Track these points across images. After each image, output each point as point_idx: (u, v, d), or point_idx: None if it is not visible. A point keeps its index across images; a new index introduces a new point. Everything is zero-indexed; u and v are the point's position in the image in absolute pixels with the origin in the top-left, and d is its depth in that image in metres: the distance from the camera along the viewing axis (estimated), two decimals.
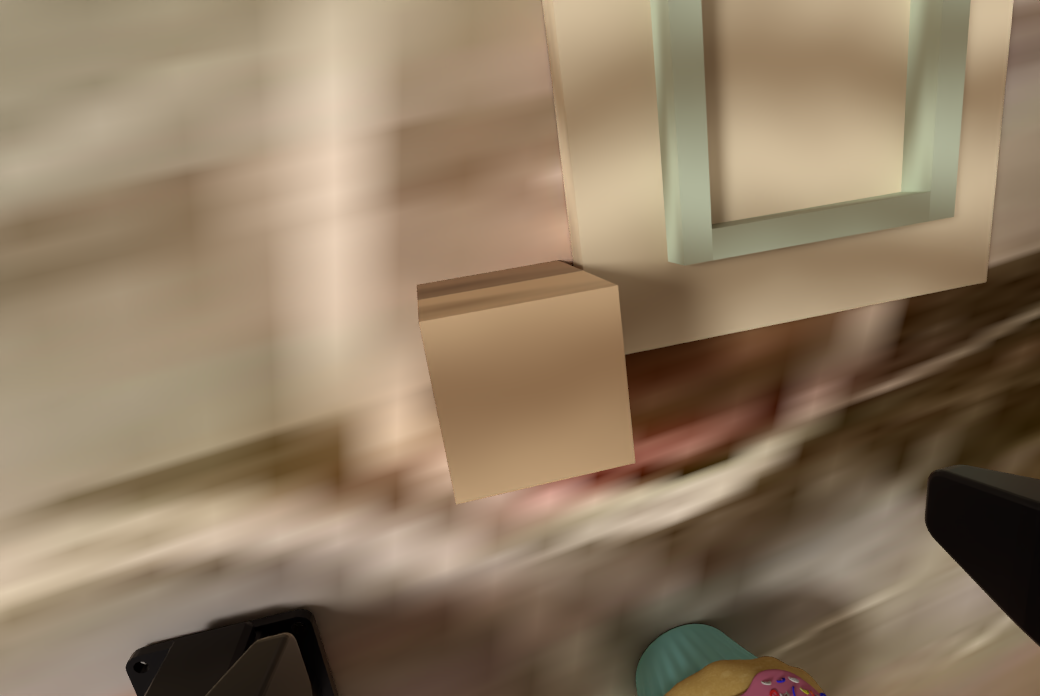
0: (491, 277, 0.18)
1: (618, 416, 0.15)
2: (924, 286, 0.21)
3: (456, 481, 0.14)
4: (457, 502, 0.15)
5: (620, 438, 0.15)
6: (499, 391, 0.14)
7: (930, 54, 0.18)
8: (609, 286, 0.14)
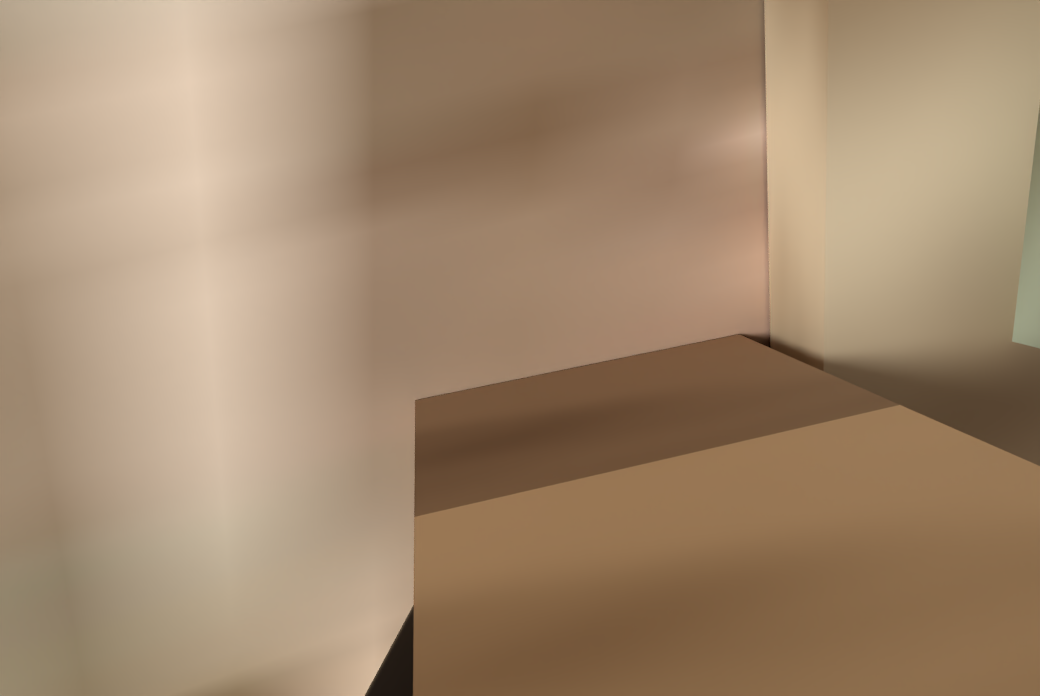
0: (606, 397, 0.07)
1: None
2: None
3: None
4: None
5: None
6: None
7: None
8: None
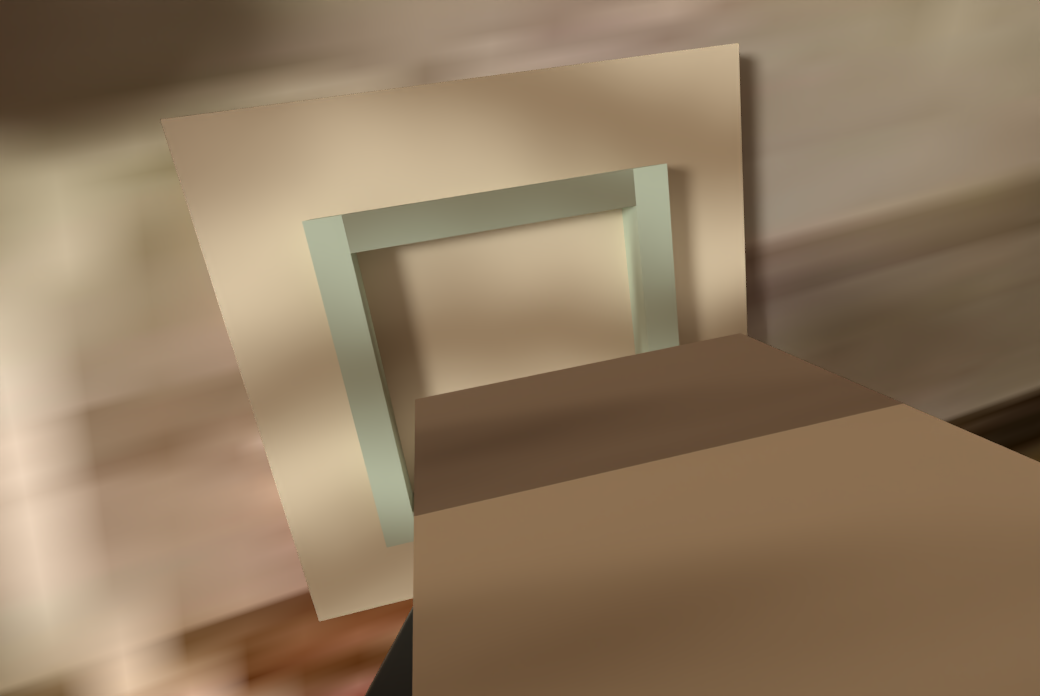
0: (607, 395, 0.07)
1: None
2: None
3: None
4: None
5: None
6: None
7: (642, 327, 0.17)
8: None
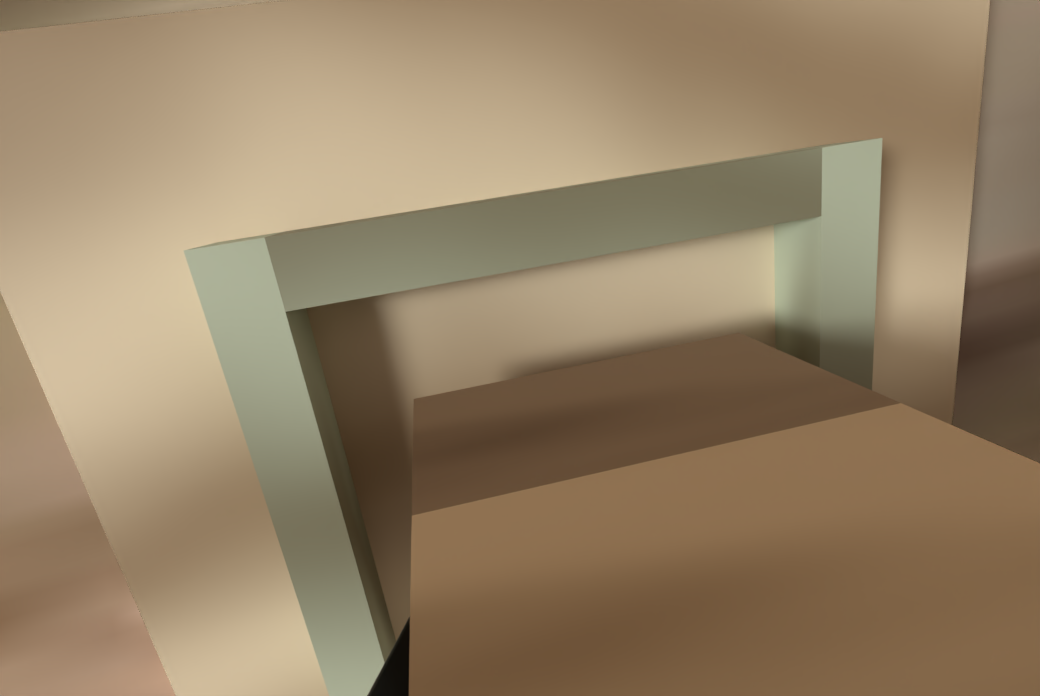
0: (605, 395, 0.07)
1: None
2: None
3: None
4: None
5: None
6: None
7: None
8: None
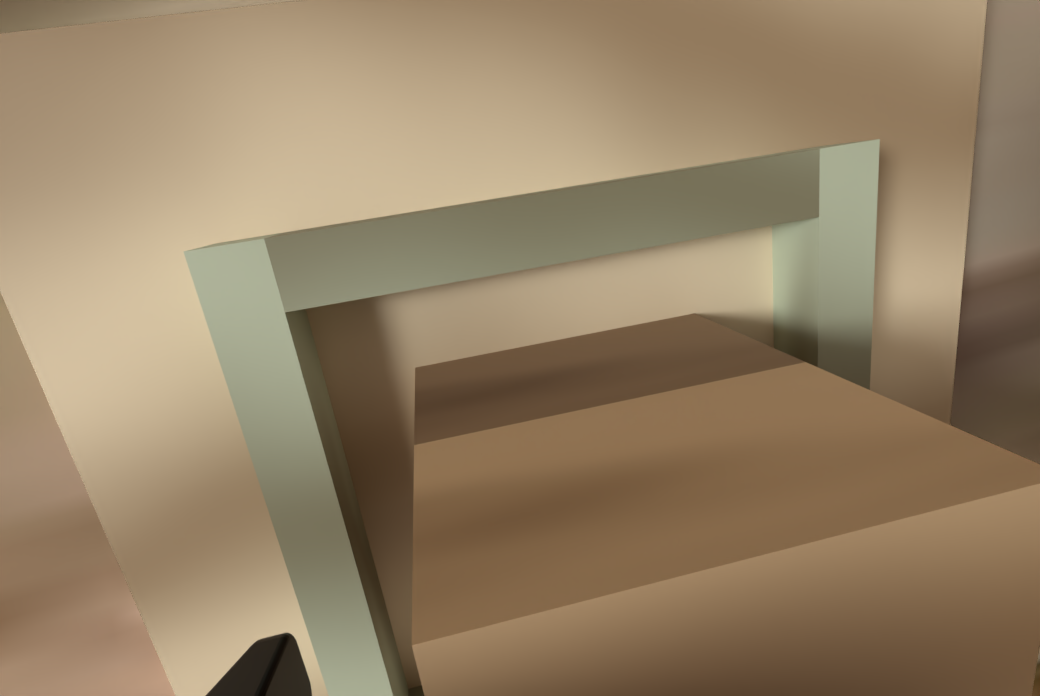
0: (574, 361, 0.08)
1: None
2: None
3: None
4: None
5: None
6: None
7: None
8: (1034, 478, 0.04)
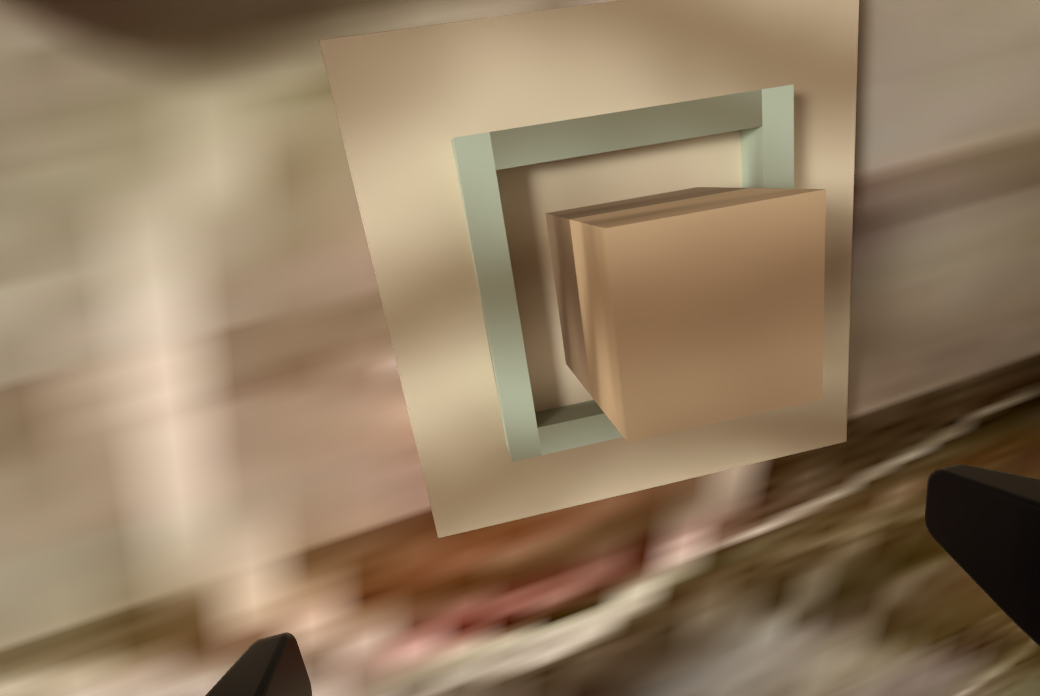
0: (634, 201, 0.16)
1: (810, 344, 0.13)
2: (780, 449, 0.21)
3: (630, 417, 0.13)
4: (629, 440, 0.13)
5: (809, 370, 0.13)
6: (685, 312, 0.12)
7: None
8: (815, 190, 0.12)
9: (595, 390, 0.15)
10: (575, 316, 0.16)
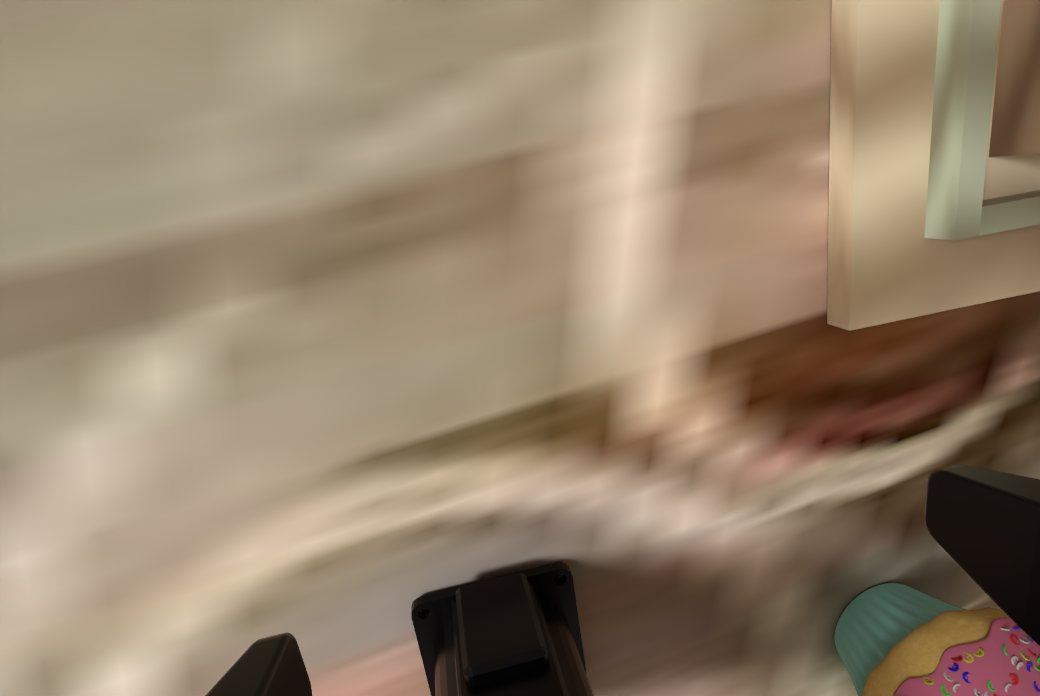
0: None
1: None
2: None
3: None
4: None
5: None
6: None
7: None
8: None
9: None
10: None
